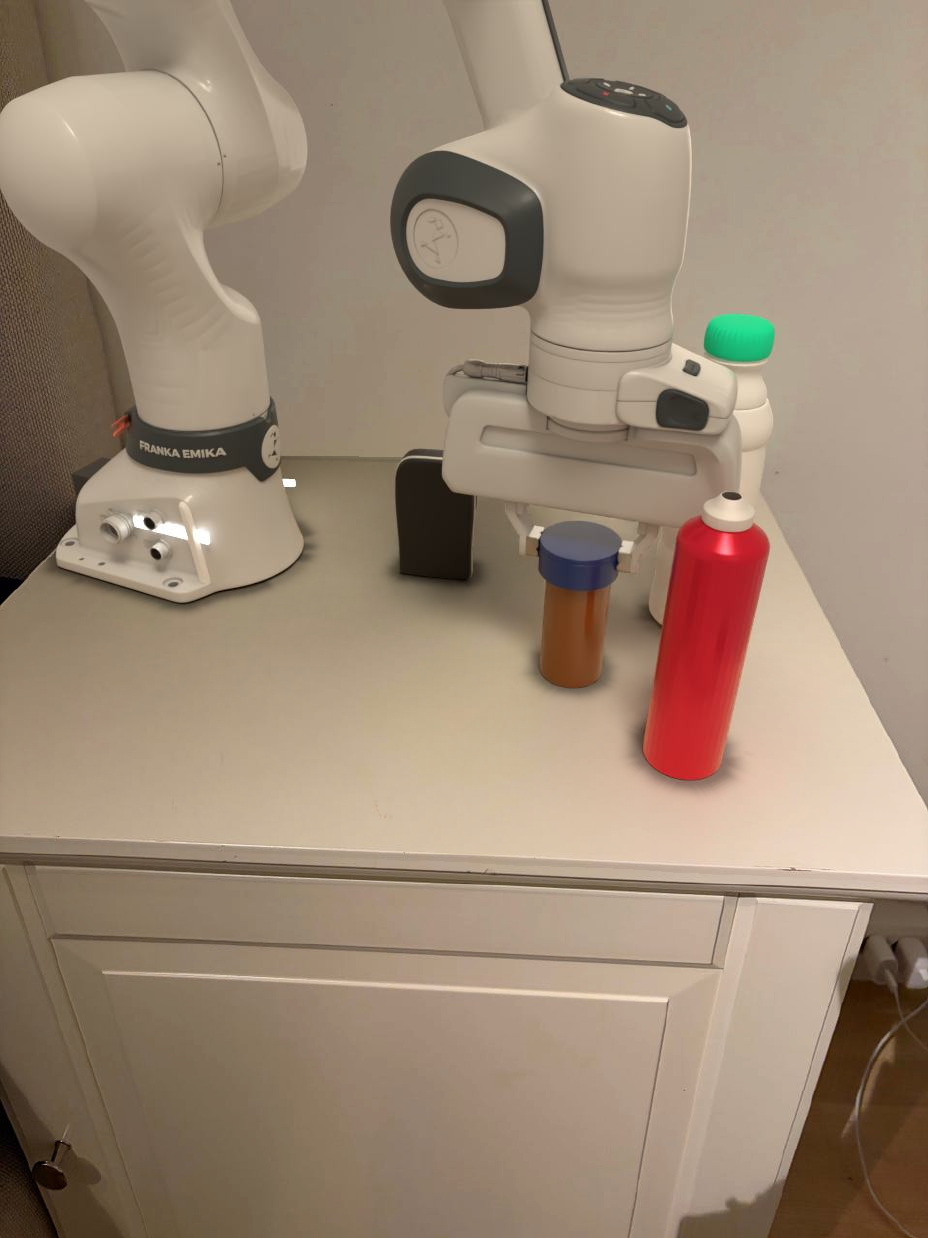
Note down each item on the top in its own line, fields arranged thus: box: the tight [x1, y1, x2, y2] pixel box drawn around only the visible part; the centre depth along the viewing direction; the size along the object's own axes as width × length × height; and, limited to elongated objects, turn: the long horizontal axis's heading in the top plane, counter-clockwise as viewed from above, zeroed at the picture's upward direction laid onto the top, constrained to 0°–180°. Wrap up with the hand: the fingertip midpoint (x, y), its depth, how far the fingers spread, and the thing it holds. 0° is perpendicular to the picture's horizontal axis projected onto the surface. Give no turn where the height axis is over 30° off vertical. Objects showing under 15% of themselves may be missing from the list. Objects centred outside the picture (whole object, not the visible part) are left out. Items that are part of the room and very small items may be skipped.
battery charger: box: [394, 448, 478, 580], centre depth 82 cm, size 7×4×11 cm, turn 80°
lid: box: [537, 520, 623, 591], centre depth 67 cm, size 6×6×2 cm
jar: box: [539, 580, 612, 689], centre depth 70 cm, size 5×5×11 cm
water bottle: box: [648, 313, 776, 626], centre depth 72 cm, size 7×7×25 cm
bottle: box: [642, 491, 771, 781], centre depth 59 cm, size 5×5×20 cm
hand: (579, 560), depth 67 cm, fingers closed on lid, 6 cm apart
